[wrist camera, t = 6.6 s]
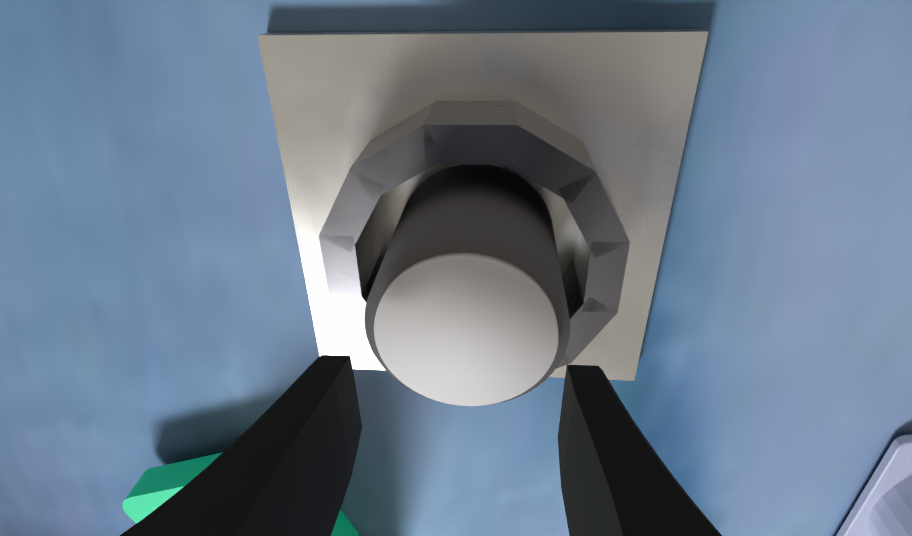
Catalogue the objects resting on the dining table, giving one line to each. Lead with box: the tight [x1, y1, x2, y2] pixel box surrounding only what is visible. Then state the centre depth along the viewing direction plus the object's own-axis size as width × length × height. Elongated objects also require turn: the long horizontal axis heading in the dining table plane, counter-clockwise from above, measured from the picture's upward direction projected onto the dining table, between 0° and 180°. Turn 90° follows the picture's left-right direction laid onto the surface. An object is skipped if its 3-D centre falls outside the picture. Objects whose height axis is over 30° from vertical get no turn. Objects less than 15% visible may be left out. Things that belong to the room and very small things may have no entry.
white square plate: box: [258, 29, 709, 381], centre depth 16 cm, size 12×12×3 cm
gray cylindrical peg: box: [364, 165, 570, 406], centre depth 15 cm, size 5×5×5 cm
